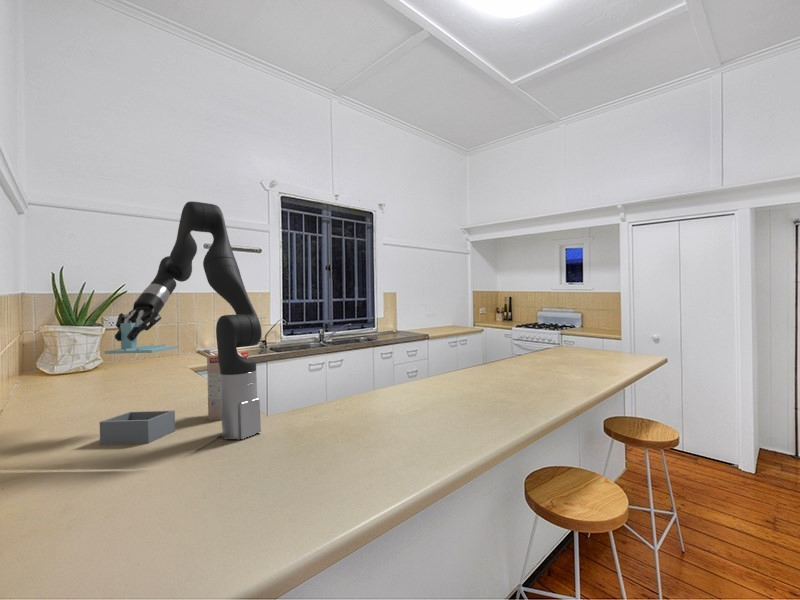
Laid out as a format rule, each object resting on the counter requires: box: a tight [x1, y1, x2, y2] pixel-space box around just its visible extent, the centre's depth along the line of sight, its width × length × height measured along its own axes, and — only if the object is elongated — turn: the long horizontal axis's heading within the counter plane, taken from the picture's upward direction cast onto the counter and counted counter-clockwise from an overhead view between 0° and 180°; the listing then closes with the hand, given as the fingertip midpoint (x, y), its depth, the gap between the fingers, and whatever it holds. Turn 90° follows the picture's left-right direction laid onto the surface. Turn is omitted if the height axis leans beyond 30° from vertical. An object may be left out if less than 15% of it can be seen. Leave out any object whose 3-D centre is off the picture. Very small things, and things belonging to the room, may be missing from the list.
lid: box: [104, 323, 178, 355], centre depth 115 cm, size 15×11×9 cm
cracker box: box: [206, 350, 249, 421], centre depth 124 cm, size 14×6×21 cm, turn 168°
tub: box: [99, 410, 176, 445], centre depth 103 cm, size 14×10×6 cm
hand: (123, 339), depth 114 cm, fingers closed on lid, 3 cm apart
